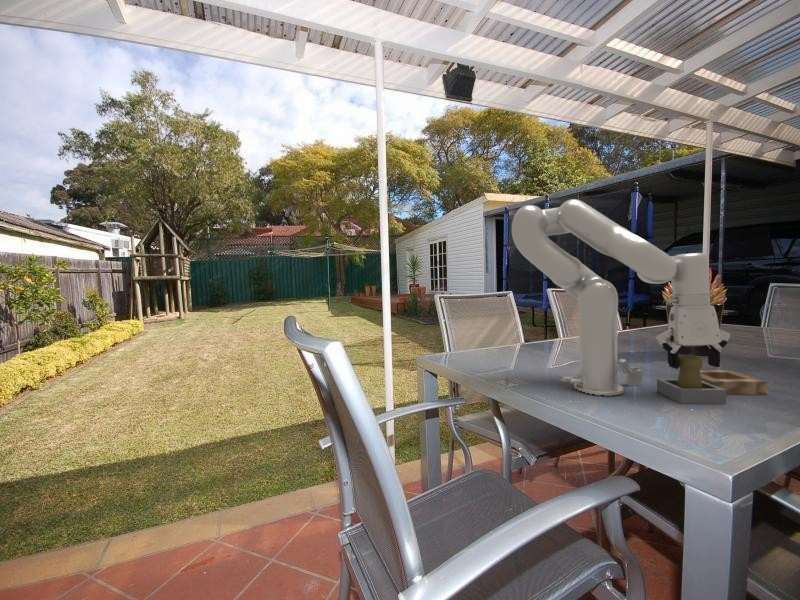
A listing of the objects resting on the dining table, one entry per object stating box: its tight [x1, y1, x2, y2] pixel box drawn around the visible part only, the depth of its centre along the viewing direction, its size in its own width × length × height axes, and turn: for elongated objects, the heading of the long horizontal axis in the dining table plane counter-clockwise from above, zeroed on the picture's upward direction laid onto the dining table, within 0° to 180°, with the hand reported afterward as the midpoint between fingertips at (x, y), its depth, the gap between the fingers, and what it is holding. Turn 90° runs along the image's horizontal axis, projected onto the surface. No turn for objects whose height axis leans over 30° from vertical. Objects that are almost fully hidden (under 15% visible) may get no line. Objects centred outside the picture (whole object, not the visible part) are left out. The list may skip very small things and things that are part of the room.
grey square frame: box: [656, 378, 727, 405], centre depth 99 cm, size 10×10×4 cm
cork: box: [677, 354, 703, 389], centre depth 98 cm, size 6×6×11 cm
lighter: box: [617, 358, 643, 387], centre depth 111 cm, size 7×2×8 cm, turn 103°
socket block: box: [700, 369, 768, 396], centre depth 106 cm, size 13×13×4 cm
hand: (693, 366), depth 98 cm, fingers open, 9 cm apart
